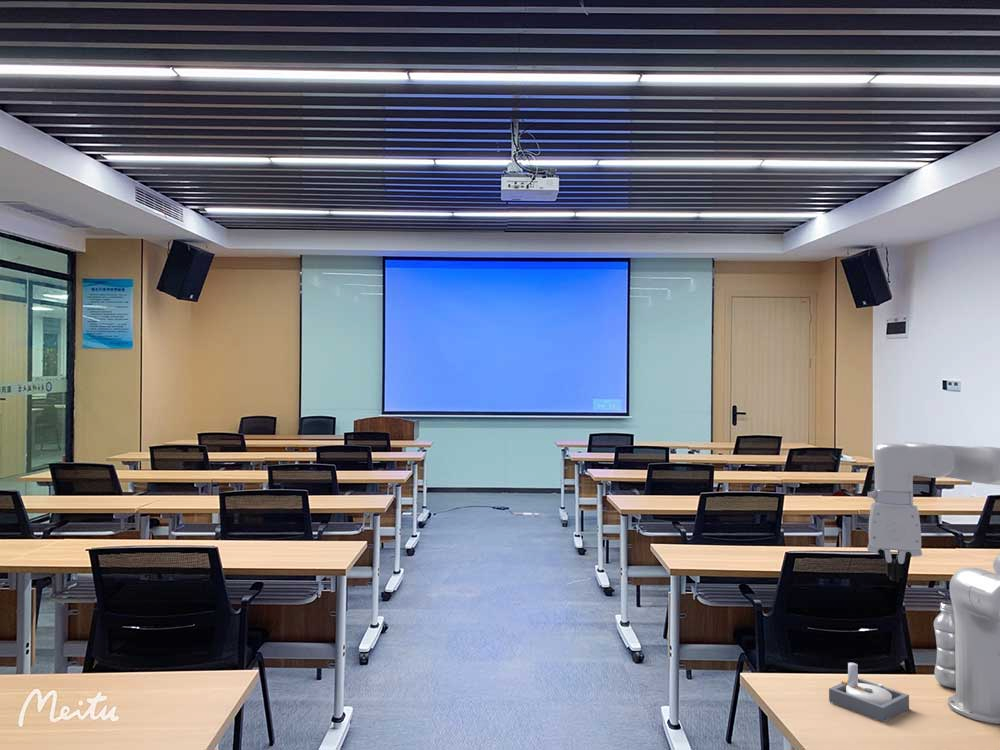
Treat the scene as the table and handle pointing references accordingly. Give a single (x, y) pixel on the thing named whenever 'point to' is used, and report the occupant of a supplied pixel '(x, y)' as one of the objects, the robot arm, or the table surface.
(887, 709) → the housing
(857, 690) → the white crank wheel
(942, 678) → the plastic bottle
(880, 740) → the table surface
